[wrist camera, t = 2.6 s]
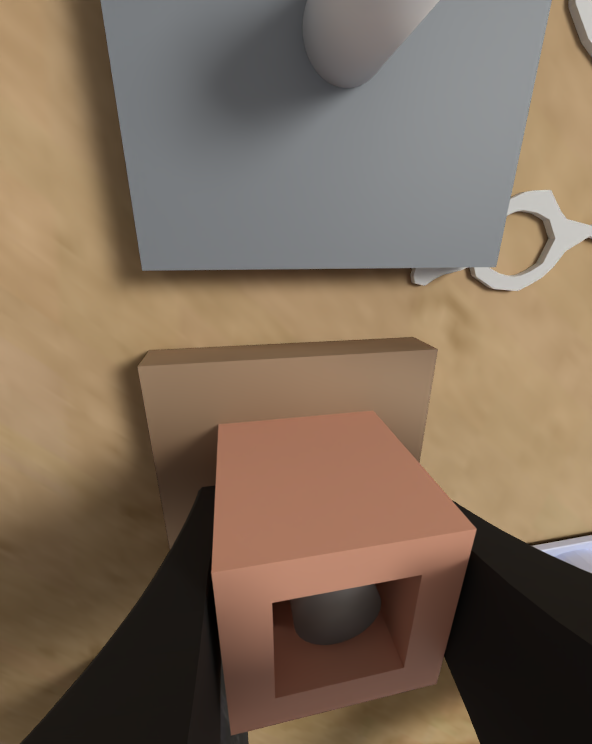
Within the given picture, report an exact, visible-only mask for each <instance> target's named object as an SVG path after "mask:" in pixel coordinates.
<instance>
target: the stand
mask: <svg viewBox="0 0 592 744" xmlns="http://www.w3.org/2000/svg"><path fill="white" fill-rule="evenodd" d="M437 351H438V349H436V348H434V347H432V346H430V345H428V344H426V343H424V342H422V341H420V340H418V339H416V338H414V337H409V338H388V339H368V340H348V341H328V342H308V343H288V344H267V345H247V346H227V347H207V348H187V349H167V350H149V351H148V353H147V354H146V355H145V357H144V358H143V360H142V361H141V362H140V364H139V365H138V373H139V378H140V384H141V389H142V395H143V401H144V406H145V412H146V418H147V423H148V429H149V435H150V440H151V446H152V452H153V457H154V463H155V469H156V474H157V480H158V486H159V491H160V497H161V503H162V508H163V514H164V520H165V525H166V531H167V537H168V542H169V548H170V549H171V548H172V546H173V544H174V542H175V540H176V538H177V536H178V535H179V533H180V531H181V529H182V527H183V525H184V523H185V521H186V519H187V517H188V515H189V513H190V511H191V508H192V506H193V504H194V501H195V499H196V496H197V494H198V491H199V490H200V489H201V488H202V487H206V486H214V485H216V467H217V446H218V425H219V424H228V423H239V422H251V421H262V420H273V419H284V418H295V417H306V416H318V415H329V414H340V413H351V412H362V411H374V412H375V413H376V414H377V415H378V416H379V417H380V419H381V420H382V421H383V422H384V423H385V424H386V426H387V427H388V428H389V429H390V430H391V431H392V432H393V434H394V435H395V436H396V437H397V438H398V439H399V440H400V442H401V443H402V444H403V445H404V446H405V447H406V448H407V450H408V451H409V452H410V453H411V454H412V455H413V456H414V458H415V459H416V460H417V461H418V462H420V456H421V449H422V443H423V437H424V431H425V425H426V419H427V413H428V406H429V400H430V394H431V388H432V382H433V376H434V370H435V363H436V357H437ZM290 605H291V611H292V617H293V623H294V628H295V631H296V633H297V635H298V636H299V637H300V638H301V639H303V640H304V641H306V642H309V643H312V644H316V645H331V644H337V643H341V642H344V641H347V640H349V639H351V638H353V637H355V636H357V635H359V634H360V633H362V632H363V631H365V630H366V629H367V628H368V627H369V626H370V625H371V624H372V623H373V622H374V620H375V619H376V618H377V616H378V614H379V611H380V608H381V598H380V595H379V593H378V591H377V588H376V586H375V584H370V585H365V586H360V587H354V588H349V589H344V590H338V591H333V592H328V593H322V594H317V595H312V596H306V597H301V598H295V599H290Z"/></svg>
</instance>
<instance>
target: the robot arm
mask: <svg viewBox="0 0 592 744" xmlns="http://www.w3.org/2000/svg"><path fill="white" fill-rule="evenodd" d="M215 488H216V485H214V486H206V487H202V488H201V489H200V490H199V491H198V494H197V496H196V499H195V501H194V504H193V506H192V508H191V511H190V513H189V515H188V517H187V519H186V521H185V523H184V525H183V527H182V529H181V531H180V533H179V535H178V536H177V538H176V540H175V542H174V544H173V546H172V548H171V549H170V551H169V553H168V554H167V556H166V558H165V559H164V561H163V563H162V564H161V566H160V568H159V569H158V571H157V573H156V574H155V576H154V578H153V579H152V581H151V582H150V584H149V585H148V587H147V588H146V590H145V591H144V593H143V594H142V596H141V597H140V599H139V600H138V601H137V603H136V604H135V606H134V607H133V609H132V610H131V611H130V613H129V614H128V616H127V617H126V618H125V620H124V621H123V622H122V624H121V625H120V626H119V628H118V629H117V630H116V632H115V633H114V634H113V635H112V637H111V638H110V639H109V641H108V642H107V643H106V645H105V646H104V647H103V649H102V650H101V651H100V652H99V654H98V655H97V656H96V657H95V659H94V660H93V661H92V662H91V663H90V665H89V666H88V667H87V668H86V670H85V671H84V672H83V673H82V674H81V675H80V677H79V678H78V679H77V680H76V681H75V682H74V683H73V685H72V686H71V687H70V688H69V689H68V690H67V692H66V693H65V694H64V695H63V696H62V697H61V699H60V700H59V701H58V702H57V703H56V704H55V706H54V707H53V708H52V709H51V710H50V711H49V712H48V714H47V715H46V716H45V717H44V718H43V719H42V720H41V722H40V723H39V724H38V725H37V726H36V727H35V728H34V729H33V730H32V731H31V733H30V734H29V735H28V736H27V737H26V738H25V739H24V740H23V741H22V742H21V743H20V744H221V658H222V656H221V648H220V640H219V632H218V623H217V615H216V607H215V599H214V590H213V582H212V574H211V571H212V550H213V529H214V508H215ZM452 501H453V500H452ZM453 502H454V501H453ZM454 504H455V505H456V506H457V507H458V508H459V509H460V510H461V512H462V513H463V514H464V515H465V516H466V517H467V518H468V520H469V521H470V522H471V523H472V524H473V525H474V526H475V528H476V529H477V530H476V534H475V538H474V541H473V545H472V549H471V553H470V557H469V561H468V565H467V569H466V572H465V576H464V580H463V584H462V588H461V592H460V596H459V600H458V603H457V607H456V611H455V615H454V619H453V623H452V627H451V631H450V634H449V638H448V642H447V646H446V650H445V654H444V657H445V660H446V662H447V664H448V666H449V669H450V671H451V673H452V676H453V678H454V680H455V683H456V685H457V688H458V690H459V692H460V695H461V697H462V700H463V702H464V704H465V707H466V709H467V711H468V714H469V716H470V719H471V721H472V724H473V727H474V729H475V732H476V734H477V737H478V739H479V742H480V744H592V535H588V536H583V537H577V538H572V539H566V540H561V541H555V542H550V543H544V544H539V545H533V546H531V545H529V544H527V543H525V542H523V541H521V540H519V539H517V538H515V537H514V536H512V535H510V534H508V533H506V532H504V531H502V530H501V529H499V528H497V527H495V526H493V525H492V524H490V523H488V522H487V521H485V520H483V519H482V518H480V517H478V516H477V515H475V514H473V513H472V512H470V511H468V510H467V509H465V508H464V507H462V506H460V505H459V504H457V503H456V502H454Z"/></svg>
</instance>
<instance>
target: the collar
mask: <svg viewBox="0 0 592 744" xmlns="http://www.w3.org/2000/svg"><path fill="white" fill-rule="evenodd" d="M476 530H477V529H476V528H475V526H474V525H473V524H472V523H471V522H470V521H469V520H468V518H467V517H466V516H465V515H464V514H463V513H462V512H461V510H460V509H459V508H458V507H457V506H456V505H455V504H454V502H453V501H452V500H451V499H450V498H449V497H448V495H447V494H446V493H445V492H444V491H443V490H442V489H441V487H440V486H439V485H438V484H437V483H436V482H435V481H434V479H433V478H432V477H431V476H430V475H429V474H428V473H427V471H426V470H425V469H424V468H423V467H422V466H421V465H420V463H419V462H418V461H417V460H416V459H415V458H414V456H413V455H412V454H411V453H410V452H409V451H408V450H407V448H406V447H405V446H404V445H403V444H402V443H401V442H400V440H399V439H398V438H397V437H396V436H395V435H394V434H393V432H392V431H391V430H390V429H389V428H388V427H387V426H386V424H385V423H384V422H383V421H382V420H381V419H380V417H379V416H378V415H377V414H376V413H375V412H374V411H362V412H351V413H340V414H329V415H318V416H306V417H295V418H284V419H273V420H262V421H251V422H239V423H228V424H219V425H218V446H217V467H216V488H215V508H214V529H213V550H212V571H211V574H212V582H213V590H214V599H215V607H216V615H217V623H218V632H219V640H220V648H221V656H222V665H223V673H224V681H225V690H226V698H227V706H228V714H229V723H230V731H231V735H235V734H239V733H243V732H247V731H251V730H255V729H259V728H263V727H267V726H271V725H275V724H279V723H283V722H287V721H291V720H295V719H299V718H303V717H307V716H311V715H315V714H319V713H323V712H327V711H331V710H335V709H339V708H343V707H347V706H351V705H355V704H359V703H363V702H367V701H370V700H374V699H378V698H382V697H386V696H390V695H394V694H398V693H402V692H406V691H410V690H414V689H418V688H422V687H426V686H430V685H434V684H437V681H438V677H439V673H440V669H441V665H442V661H443V658H444V654H445V650H446V646H447V642H448V638H449V634H450V631H451V627H452V623H453V619H454V615H455V611H456V607H457V603H458V600H459V596H460V592H461V588H462V584H463V580H464V576H465V572H466V569H467V565H468V561H469V557H470V553H471V549H472V545H473V541H474V538H475V534H476ZM370 584H375V586H376V588H377V591H378V593H379V595H380V598H381V608H380V611H379V614H378V616H377V618H376V619H375V620H374V622H373V623H372V624H371V625H370V626H369V627H368V628H367V629H366V630H365V631H363V632H362V633H360V634H359V635H357V636H355V637H353V638H351V639H349V640H347V641H344V642H341V643H337V644H331V645H316V644H312V643H309V642H306V641H304V640H303V639H301V638H300V637H299V636H298V635H297V633H296V631H295V628H294V623H293V617H292V611H291V605H290V599H295V598H301V597H306V596H312V595H317V594H322V593H328V592H333V591H338V590H344V589H349V588H354V587H360V586H365V585H370Z"/></svg>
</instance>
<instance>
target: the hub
mask: <svg viewBox="0 0 592 744" xmlns="http://www.w3.org/2000/svg"><path fill="white" fill-rule="evenodd" d="M551 1H552V0H101V7H102V13H103V20H104V26H105V33H106V39H107V46H108V52H109V59H110V65H111V72H112V78H113V85H114V91H115V97H116V104H117V110H118V117H119V123H120V130H121V136H122V143H123V149H124V156H125V162H126V169H127V175H128V182H129V188H130V195H131V201H132V208H133V214H134V221H135V227H136V234H137V240H138V246H139V253H140V259H141V266H142V271H150V270H252V269H355V268H457V267H496V265H497V260H498V255H499V250H500V246H501V241H502V236H503V231H504V227H505V222H506V217H507V212H508V207H509V203H510V198H511V193H512V188H513V183H514V179H515V174H516V169H517V164H518V159H519V155H520V150H521V145H522V140H523V135H524V131H525V126H526V121H527V116H528V112H529V107H530V102H531V97H532V92H533V88H534V83H535V78H536V73H537V68H538V64H539V59H540V54H541V49H542V44H543V40H544V35H545V30H546V25H547V20H548V16H549V11H550V6H551Z"/></svg>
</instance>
